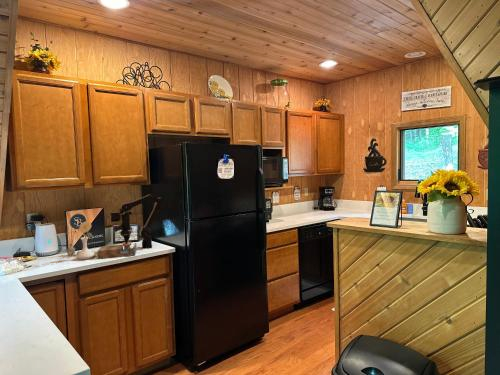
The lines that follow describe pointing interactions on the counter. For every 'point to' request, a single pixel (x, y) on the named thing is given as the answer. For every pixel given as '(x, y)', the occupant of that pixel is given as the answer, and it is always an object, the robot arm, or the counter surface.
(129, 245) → the coaster
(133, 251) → the grey jagged bowl
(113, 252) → the housing
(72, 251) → the reed diffuser
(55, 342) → the counter surface
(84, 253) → the flower in vase
